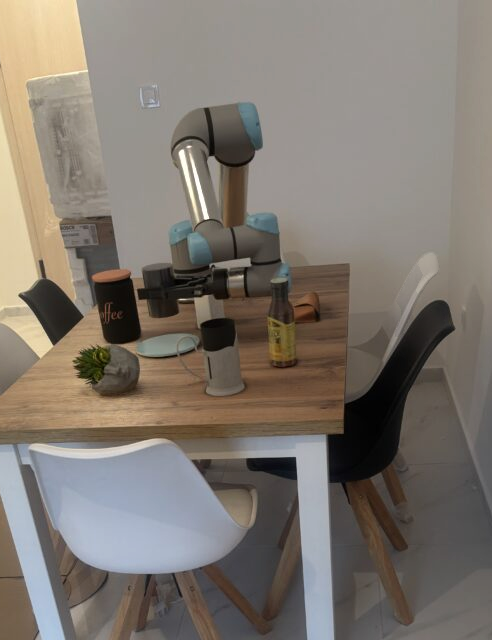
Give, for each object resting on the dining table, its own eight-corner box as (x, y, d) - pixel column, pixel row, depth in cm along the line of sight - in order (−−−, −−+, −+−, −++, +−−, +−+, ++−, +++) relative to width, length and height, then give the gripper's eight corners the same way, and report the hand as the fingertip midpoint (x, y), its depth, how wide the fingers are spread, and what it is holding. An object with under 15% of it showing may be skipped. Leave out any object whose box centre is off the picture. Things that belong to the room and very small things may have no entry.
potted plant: (140, 385, 171) (71, 379, 167) (133, 406, 183) (69, 400, 180) (141, 335, 174) (74, 328, 170) (134, 359, 186) (71, 352, 182)
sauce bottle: (266, 363, 184) (258, 279, 175) (289, 357, 186) (283, 274, 176) (278, 370, 179) (271, 284, 169) (302, 364, 181) (296, 279, 171)
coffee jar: (96, 341, 217) (83, 277, 208) (125, 331, 223) (113, 267, 214) (121, 346, 210) (108, 280, 201) (149, 335, 216) (139, 270, 208)
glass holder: (250, 389, 170) (243, 323, 163) (190, 404, 167) (180, 337, 159) (236, 378, 177) (229, 314, 170) (178, 392, 174) (168, 327, 167)
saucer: (146, 340, 213) (145, 335, 212) (205, 336, 209) (205, 331, 209) (128, 360, 199) (127, 355, 198) (192, 357, 195) (191, 352, 194)
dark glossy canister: (153, 310, 204) (146, 263, 198) (182, 308, 202) (176, 261, 196) (145, 319, 197) (137, 271, 191) (175, 317, 195) (168, 269, 189)
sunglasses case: (289, 304, 226) (300, 283, 222) (311, 314, 227) (321, 294, 223) (288, 322, 210) (300, 300, 207) (311, 333, 211) (323, 311, 208)
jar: (205, 331, 213) (200, 288, 207) (190, 326, 219) (185, 284, 214) (232, 323, 217) (227, 280, 211) (217, 318, 223) (212, 277, 217)
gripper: (223, 310, 185) (133, 316, 190) (237, 287, 203) (155, 293, 208) (219, 278, 182) (128, 285, 187) (234, 258, 199) (151, 265, 204)
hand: (142, 289), depth 197 cm, fingers closed on dark glossy canister, 8 cm apart
